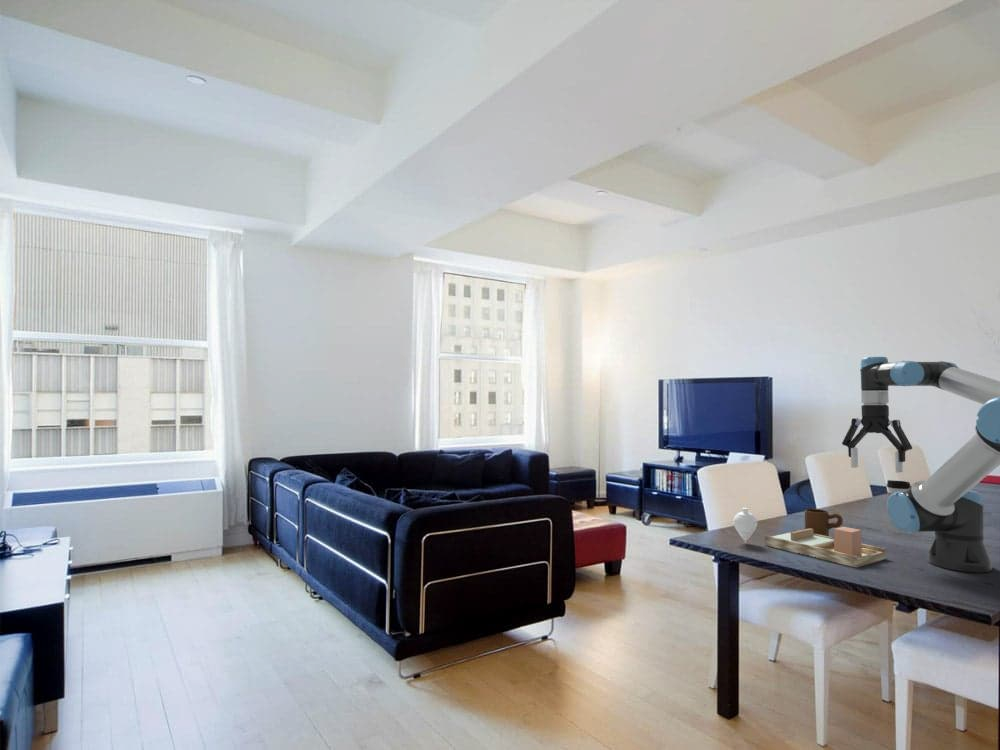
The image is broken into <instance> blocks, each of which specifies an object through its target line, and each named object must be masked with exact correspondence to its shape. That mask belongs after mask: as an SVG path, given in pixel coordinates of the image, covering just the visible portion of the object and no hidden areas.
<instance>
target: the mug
mask: <svg viewBox="0 0 1000 750" xmlns="http://www.w3.org/2000/svg"><path fill="white" fill-rule="evenodd" d="M835 518H836V519H837V521H836V522H830V520H832V519H835ZM843 521H844V520H843V517H842V516H841V515H840V514H838V513H835V512H834V513H830V514H829V511H828V510H825V509H820V508H806V509H804V529H809V528H811V529H813V533H814V534H819V535H823V536H828V537H830V536H829V535H830V530H831V529H835V528H840V527H842V525H843V523H844V522H843Z"/></svg>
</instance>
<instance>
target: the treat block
mask: <svg viewBox="0 0 1000 750" xmlns="http://www.w3.org/2000/svg"><path fill="white" fill-rule="evenodd" d="M833 538H834V551H836V552H841V553H845V554H849V555H854V556H857V557H859V556H862V544H863V543H862V529H857V528H852V527H848V526H840V527H837V528H833Z"/></svg>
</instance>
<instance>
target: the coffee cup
mask: <svg viewBox="0 0 1000 750" xmlns="http://www.w3.org/2000/svg"><path fill="white" fill-rule="evenodd" d="M886 482H887V483H886V487H887V490H888V491H887V496H888V497H889V496H890V495H891V494H893V493H896V492H905V491H906V490H908V489H909V488H910V487H911V486H912V485H911V482H910V481H905V480H904V481H903V480H892V479H891V480H890V479H887V481H886Z"/></svg>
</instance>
